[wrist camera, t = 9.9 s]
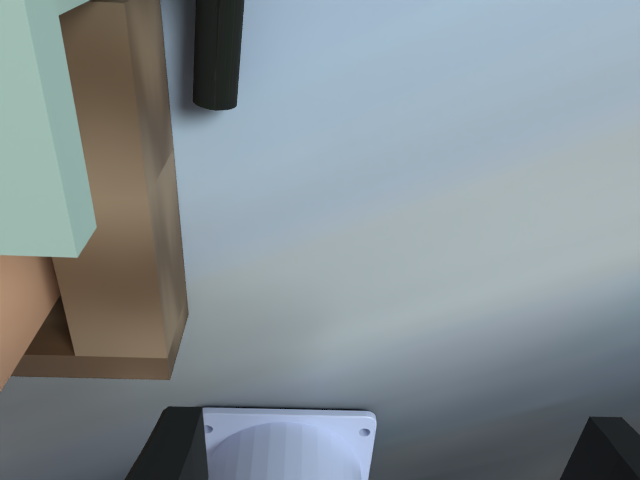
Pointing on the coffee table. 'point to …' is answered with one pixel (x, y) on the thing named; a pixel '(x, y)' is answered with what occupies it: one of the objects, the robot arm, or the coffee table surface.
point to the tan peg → (23, 305)
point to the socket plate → (119, 207)
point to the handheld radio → (217, 53)
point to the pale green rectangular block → (40, 137)
